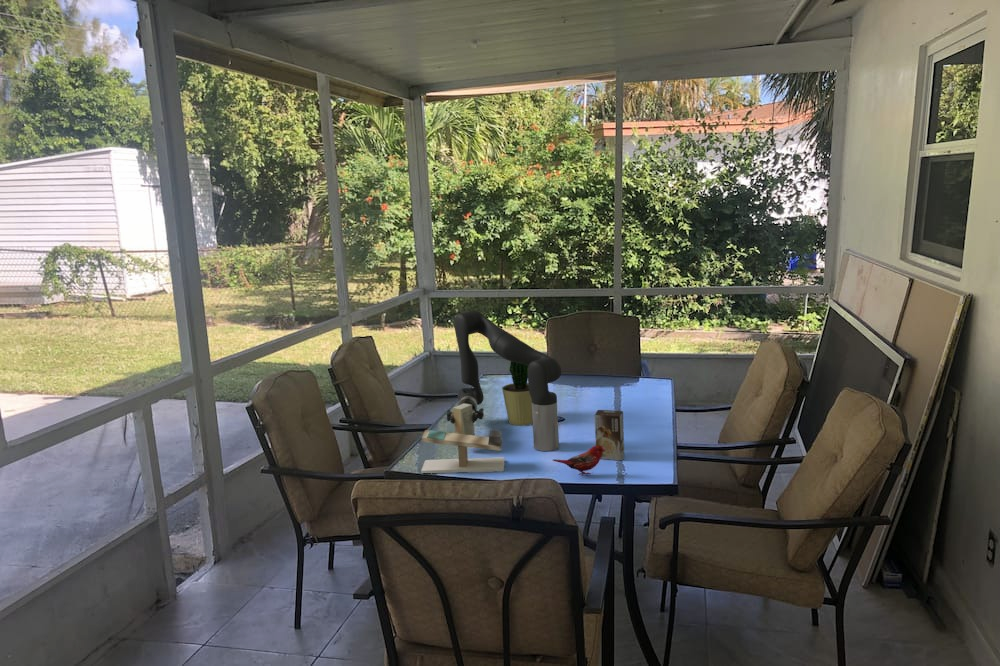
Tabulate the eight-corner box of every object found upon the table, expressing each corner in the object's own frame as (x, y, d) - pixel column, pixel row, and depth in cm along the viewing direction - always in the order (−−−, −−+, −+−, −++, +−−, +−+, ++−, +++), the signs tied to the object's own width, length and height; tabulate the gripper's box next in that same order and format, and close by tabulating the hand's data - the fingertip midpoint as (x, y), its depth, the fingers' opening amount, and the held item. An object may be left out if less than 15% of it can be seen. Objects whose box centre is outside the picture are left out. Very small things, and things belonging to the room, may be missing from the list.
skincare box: (466, 434, 251) (464, 402, 249) (475, 436, 248) (472, 404, 246) (454, 439, 246) (452, 407, 244) (463, 441, 244) (461, 408, 241)
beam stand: (504, 460, 236) (503, 437, 234) (503, 471, 226) (502, 447, 225) (425, 463, 237) (424, 440, 236) (421, 474, 227) (419, 450, 226)
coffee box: (625, 454, 236) (624, 410, 233) (621, 461, 230) (620, 416, 227) (599, 452, 239) (598, 409, 236) (595, 459, 233) (594, 414, 230)
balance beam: (501, 442, 234) (503, 430, 233) (500, 450, 226) (502, 438, 225) (424, 434, 234) (426, 421, 233) (421, 441, 226) (422, 429, 226)
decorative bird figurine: (607, 475, 218) (606, 445, 216) (553, 479, 217) (552, 450, 215) (605, 471, 221) (604, 442, 219) (552, 476, 220) (550, 447, 218)
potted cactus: (496, 423, 279) (492, 352, 273) (520, 413, 290) (517, 345, 284) (524, 429, 268) (520, 356, 263) (548, 420, 279) (545, 349, 274)
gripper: (447, 399, 260) (442, 411, 244) (484, 397, 259) (482, 409, 243) (449, 417, 261) (444, 431, 245) (486, 416, 260) (483, 429, 244)
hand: (463, 420), depth 244 cm, fingers closed on skincare box, 7 cm apart
